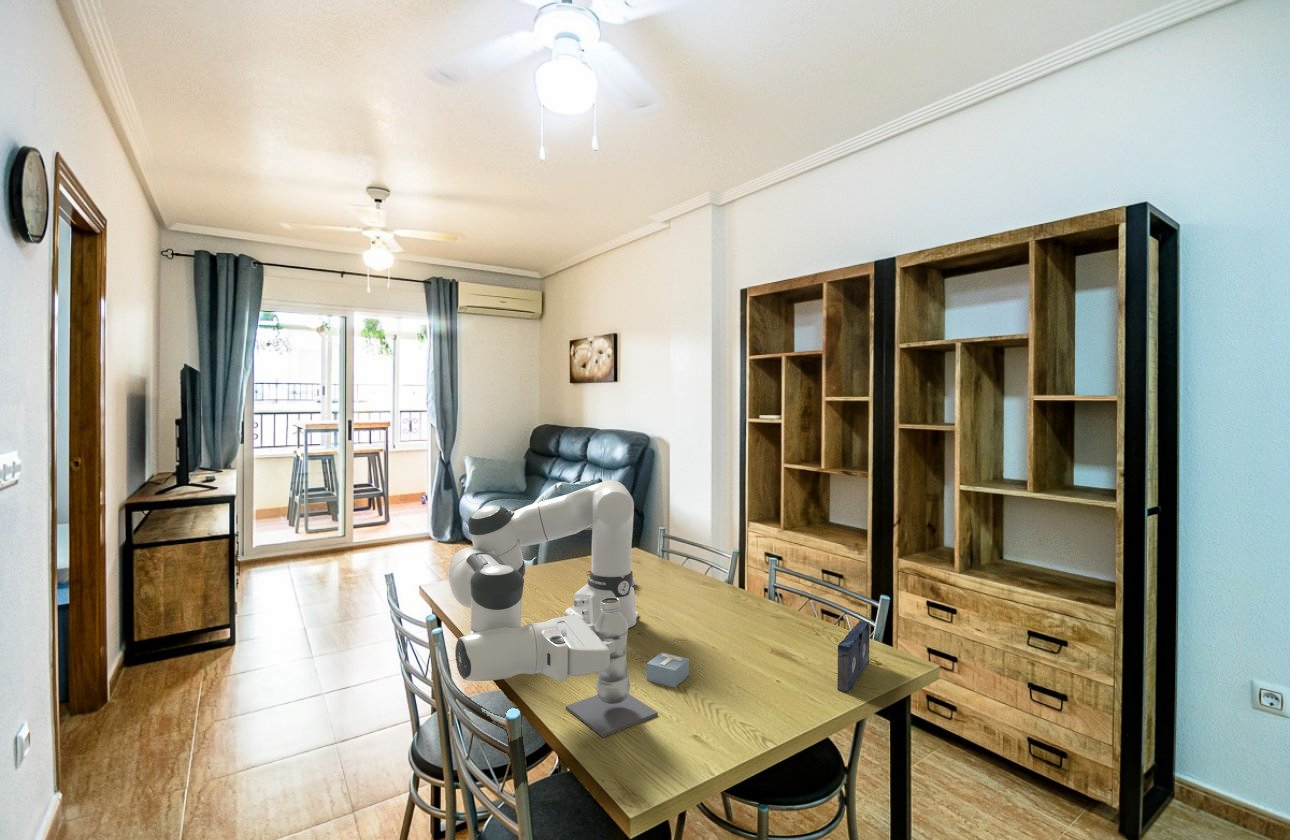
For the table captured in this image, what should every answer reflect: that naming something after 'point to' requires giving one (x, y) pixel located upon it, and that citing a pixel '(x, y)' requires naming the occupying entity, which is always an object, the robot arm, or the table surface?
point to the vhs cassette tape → (853, 656)
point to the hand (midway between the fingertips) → (616, 636)
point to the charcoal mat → (611, 714)
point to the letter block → (667, 669)
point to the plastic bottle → (613, 653)
